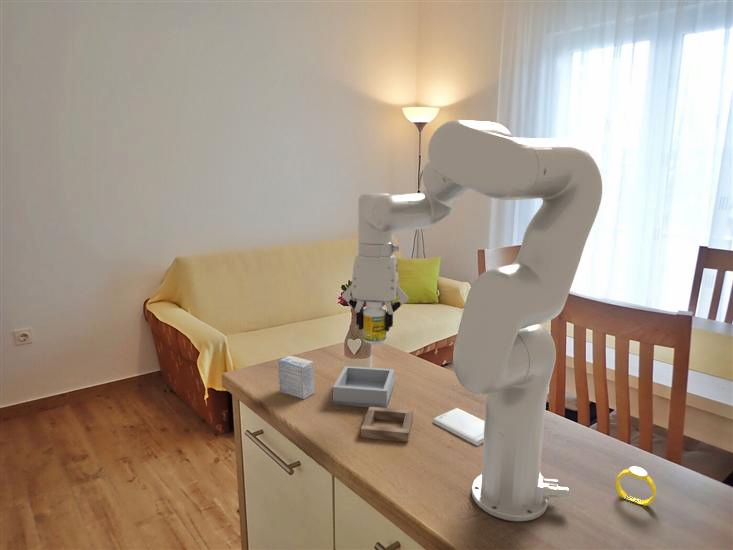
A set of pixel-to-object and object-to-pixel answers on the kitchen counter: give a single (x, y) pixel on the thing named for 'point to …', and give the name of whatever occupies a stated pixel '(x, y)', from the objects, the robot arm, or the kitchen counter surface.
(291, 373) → the medicine box
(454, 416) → the hard drive
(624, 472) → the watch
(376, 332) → the supplement bottle
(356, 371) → the slate tray
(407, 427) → the walnut square tray
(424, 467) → the kitchen counter surface
